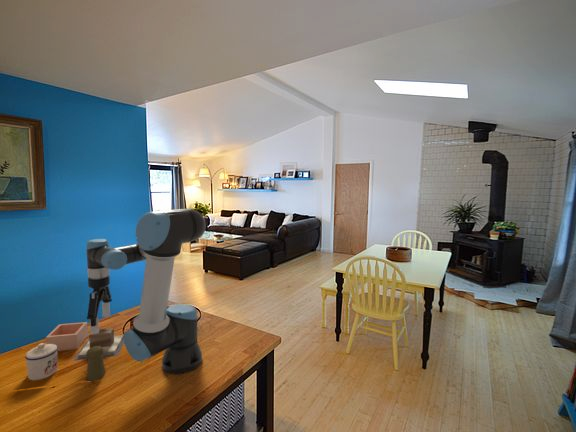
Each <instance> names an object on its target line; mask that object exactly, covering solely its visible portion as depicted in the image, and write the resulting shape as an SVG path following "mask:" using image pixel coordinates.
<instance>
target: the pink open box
mask: <svg viewBox="0 0 576 432" xmlns="http://www.w3.org/2000/svg"><path fill="white" fill-rule="evenodd" d="M88 328H89V327H88V321H84V322H72V323H62V324H61V323H60V324H58V325H57V326H56V327H54V328H53V330H52V331H51V332H50V333H48V335H47V336H45V344H54V345H56V346H57V347H58V349H57V352H61V351H62V352H63V351H73V350H78V349H79V348H80V347H81V345H82V344H83V343H84V342H85V340H86V339H87V337H89V330H88Z"/></svg>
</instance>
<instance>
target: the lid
mask: <svg viewBox="0 0 576 432" xmlns="http://www.w3.org/2000/svg"><path fill="white" fill-rule="evenodd" d="M114 329H115V328H114V327H111V328H109V327H108V328H99V332H98V333H90V332H89V333H88V337H89V338H88V339H89V342H88V343H87V344H86V346H85V347H84V348H83V350H82V351H81V352H80V354H79V355H78V358H83V357H87V356H86V353H87V351H88V350H89V349H90V348H92V347H94V346H101V347H102V348H103V354H102V355H110V354H115V352H116V351H117V349H118V347H119V345H120V343H121V341H122V340H123V338H124V334H120V335H115V330H114Z"/></svg>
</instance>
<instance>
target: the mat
mask: <svg viewBox="0 0 576 432" xmlns="http://www.w3.org/2000/svg"><path fill="white" fill-rule="evenodd" d="M88 342H89V338H88V339H87V341H86V342H85V344H84V345H83V346H82V348H81V349H80V350H79V351H78V353H77V354H76V355H75V357H74V358H73V359H72V361H73V362H74V361H75V362H76V361H83V360H88V358H87V357H83V358H78V355H79V354H80V352H81V351H82V350H83V348H84V347H85V346H86V344H87V343H88ZM124 345H125V344H124V338H123V340H122V341H121V343H120V345H119V347H118V349H117V351H116V352H115V354H110V355H102V358H110V357H117V356H119V355H120V354H119V353H121V350H122V348H123V347H124Z"/></svg>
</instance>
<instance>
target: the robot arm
mask: <svg viewBox="0 0 576 432" xmlns="http://www.w3.org/2000/svg"><path fill="white" fill-rule="evenodd" d="M206 228H207V225H206V220H205V218H204V216H203V214H201V213H200V212H199V211H197V210H195V209H192V208H179V209H178V208H176V209H167V210H166V209H165V210H163V209H158V210H153V211H149V212H146V213H144V214H142V215H141V217H140V218H139V219H138V221H137V224H136V226H135V237H136V243H135V244H130V245H124V246H123V245H122V246H119V247H118V246H117V247H110V245H109V241H108V240H107V239H106V238H94V239H90V240H88V241H87V242H86V261H87V263H86V265H87V269H86V271H87V277H88V278H87V285H88V288H91V289H93V290H92V291H91V292H90V293H89V301H88V310H87V317H86V319H87V320H89V327H90V330H89V334H90V333H98V332H99V329H100V325H99V316H98V315H99V314H98V313H99V309H100V308H99V307H100V305H102V306H101V307H102V318H110V317H111V308H110V306H111V305H110V302H111V303H112V301H113V299H112V294H111V291H110V286H109V285H110V284H111V283H110V281H111V280H110V270H115V271H116V270H120V269H122V268H123V267H124V266H126V265H129V264H130V265H131V264H134V263H138V262H143V261H145V266H144V274H143V282H142V288H141V296H140V298H141V299H140V306H139V313H138V314H137V316H135V318H134V319H133V322H132V328H128V329H127V330H126V331H125V332H124V334H123V335H124V344H123V345H124V346H125V350H126V351H127V353H128V354H129V356H130V358H132V359H133V360H134V361H136V362H140V363H141V362H144V361H146V360H149V359H151V358H152V357H154V356H156V355H158V354H159V353H162V352H163V351H164V353H163V356H162V359H161V360H162V361H161V367H162V370H163V371H164V372H166V373H168V374H172V375H181V374H186V373H189V372H192V371H193V370H195V369H196V368H198V367H199V366H200V365H201V363H202V361H203V353H202V349H201V347H200V345H199V342H198V317H199V316H198V311H197V308H196V306H195V307H194V306H193V305H190V304H185V303H184V304H182V303H180V304H179V303H177V304H173V305H169V304H168V303H169V297H170V291H171V284H172V279H173V272H174V271H173V270H174V266H175V258H176V257H178V256H179V255H180V254H181V250H182V245H183V244H187V243H190V242H194V241H197V240H198V239H199V238H201V237H203V235H204V233H205V232H206ZM101 302H102V303H101ZM168 305H169V306H168Z"/></svg>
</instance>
